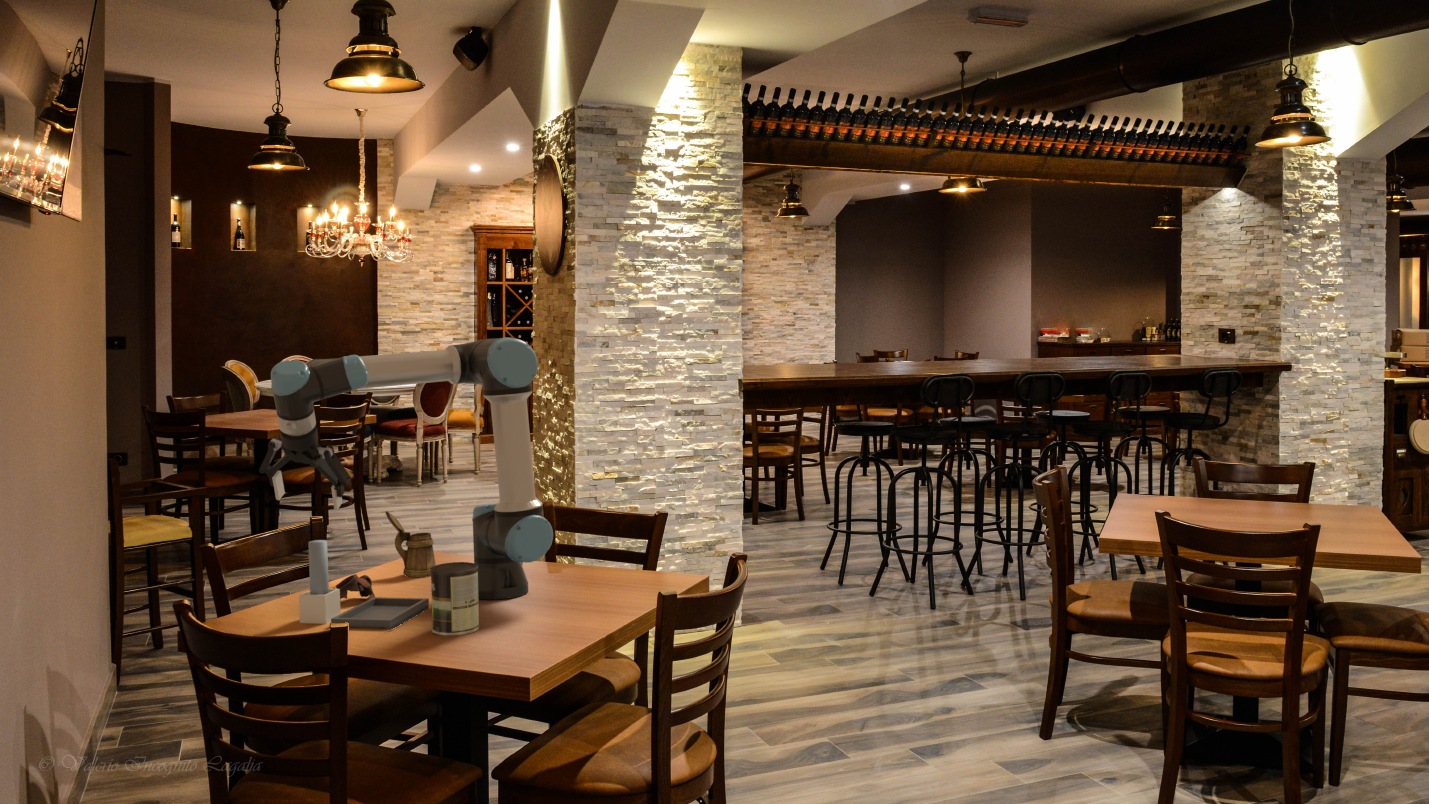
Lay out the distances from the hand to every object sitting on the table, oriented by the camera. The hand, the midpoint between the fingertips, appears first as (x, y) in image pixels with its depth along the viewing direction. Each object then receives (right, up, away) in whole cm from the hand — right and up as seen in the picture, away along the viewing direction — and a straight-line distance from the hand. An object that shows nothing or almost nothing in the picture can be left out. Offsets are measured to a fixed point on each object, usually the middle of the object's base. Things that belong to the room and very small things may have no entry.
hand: (309, 501), depth 234 cm
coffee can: (+35, -28, -7) cm, 46 cm away
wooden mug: (+9, -25, +51) cm, 57 cm away
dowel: (+2, -27, +1) cm, 27 cm away
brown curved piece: (+4, -27, +19) cm, 33 cm away
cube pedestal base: (+2, -28, +1) cm, 28 cm away
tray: (+16, -28, +3) cm, 32 cm away
